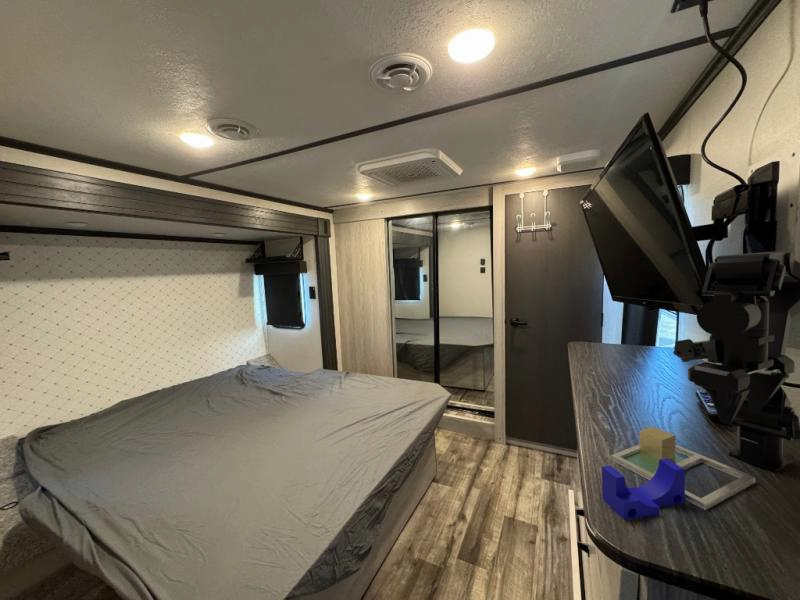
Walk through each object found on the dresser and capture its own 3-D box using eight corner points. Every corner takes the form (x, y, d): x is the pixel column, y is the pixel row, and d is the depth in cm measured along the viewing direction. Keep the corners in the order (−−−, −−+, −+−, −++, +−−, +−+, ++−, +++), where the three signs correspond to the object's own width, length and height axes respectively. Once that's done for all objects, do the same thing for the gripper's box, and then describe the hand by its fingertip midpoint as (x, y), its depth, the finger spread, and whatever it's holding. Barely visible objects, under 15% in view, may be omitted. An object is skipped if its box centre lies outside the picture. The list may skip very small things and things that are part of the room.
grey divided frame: (657, 441, 68) (657, 437, 68) (755, 482, 54) (755, 477, 54) (610, 459, 62) (610, 455, 62) (705, 510, 48) (705, 504, 48)
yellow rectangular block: (652, 451, 64) (652, 426, 63) (675, 462, 60) (675, 435, 60) (639, 456, 62) (639, 430, 62) (662, 467, 59) (661, 440, 58)
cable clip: (624, 520, 48) (623, 484, 47) (602, 500, 52) (602, 466, 52) (694, 511, 49) (694, 475, 48) (667, 491, 53) (667, 458, 53)
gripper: (711, 317, 62) (711, 392, 64) (652, 328, 56) (653, 410, 57) (797, 324, 52) (794, 412, 53) (736, 338, 46) (735, 438, 47)
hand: (740, 417), depth 53 cm, fingers open, 9 cm apart
